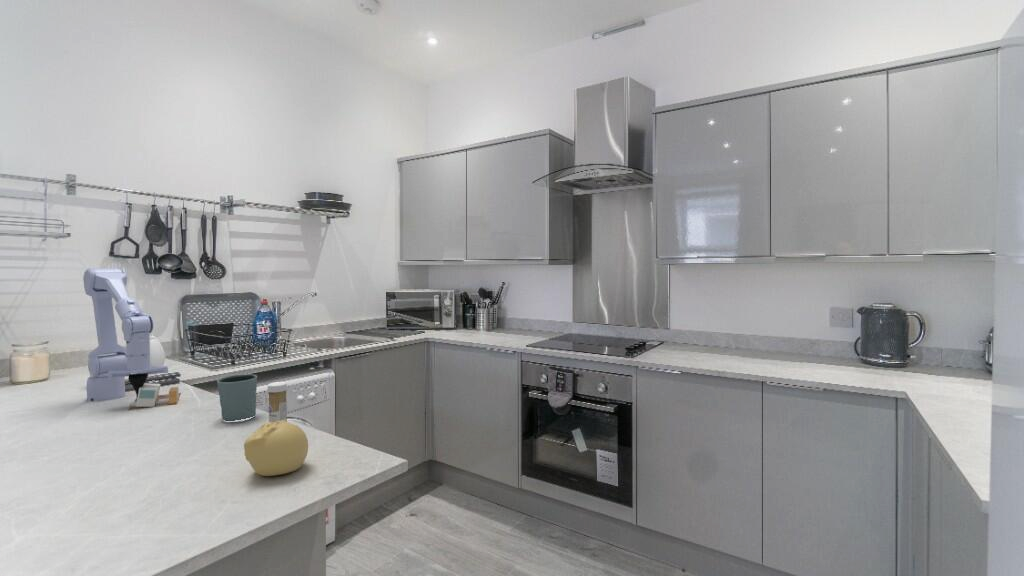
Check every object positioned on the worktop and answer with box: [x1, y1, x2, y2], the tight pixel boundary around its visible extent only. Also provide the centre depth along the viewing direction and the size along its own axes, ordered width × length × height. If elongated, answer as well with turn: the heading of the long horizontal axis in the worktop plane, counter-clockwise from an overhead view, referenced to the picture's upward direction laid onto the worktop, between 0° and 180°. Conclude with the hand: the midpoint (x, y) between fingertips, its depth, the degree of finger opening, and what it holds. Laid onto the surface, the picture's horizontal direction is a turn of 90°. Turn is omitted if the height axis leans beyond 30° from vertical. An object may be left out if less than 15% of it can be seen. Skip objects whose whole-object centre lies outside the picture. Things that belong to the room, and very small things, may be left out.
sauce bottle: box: [150, 330, 166, 367], centre depth 200 cm, size 8×8×18 cm
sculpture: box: [243, 420, 309, 477], centre depth 103 cm, size 12×12×11 cm
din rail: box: [128, 386, 180, 409], centre depth 149 cm, size 12×6×4 cm, turn 121°
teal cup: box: [216, 373, 258, 421], centre depth 139 cm, size 10×10×12 cm
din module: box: [136, 382, 161, 408], centre depth 148 cm, size 4×7×6 cm, turn 30°
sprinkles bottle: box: [267, 381, 288, 423], centre depth 126 cm, size 5×5×13 cm
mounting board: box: [128, 392, 182, 411], centre depth 152 cm, size 12×16×2 cm
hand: (139, 398), depth 147 cm, fingers closed, pressing on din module
